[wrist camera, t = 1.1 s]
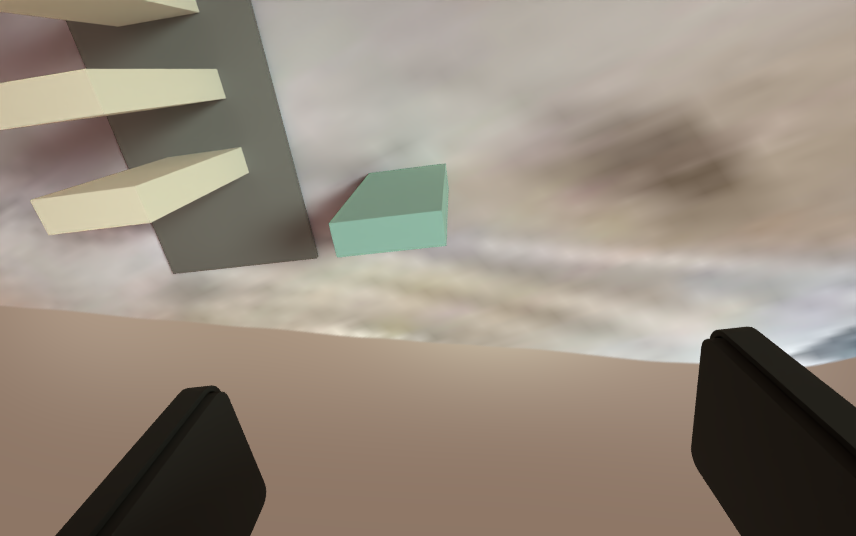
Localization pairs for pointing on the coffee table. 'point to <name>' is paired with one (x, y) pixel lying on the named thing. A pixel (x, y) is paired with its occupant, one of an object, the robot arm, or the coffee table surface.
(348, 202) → the teal domino
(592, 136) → the coffee table surface
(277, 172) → the domino mat
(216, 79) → the domino
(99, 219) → the domino
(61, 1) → the domino
